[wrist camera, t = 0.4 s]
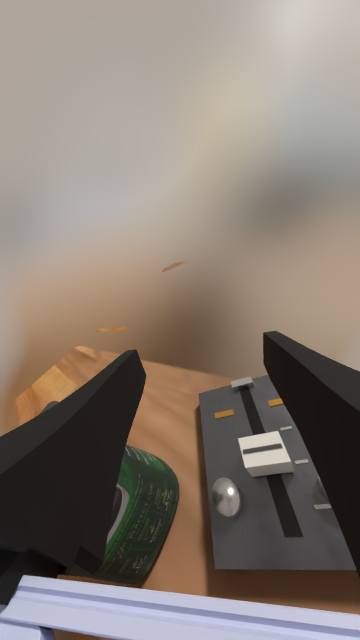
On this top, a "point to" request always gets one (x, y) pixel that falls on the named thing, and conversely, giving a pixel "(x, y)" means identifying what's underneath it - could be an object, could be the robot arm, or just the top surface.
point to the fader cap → (265, 454)
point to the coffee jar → (137, 516)
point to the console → (264, 488)
